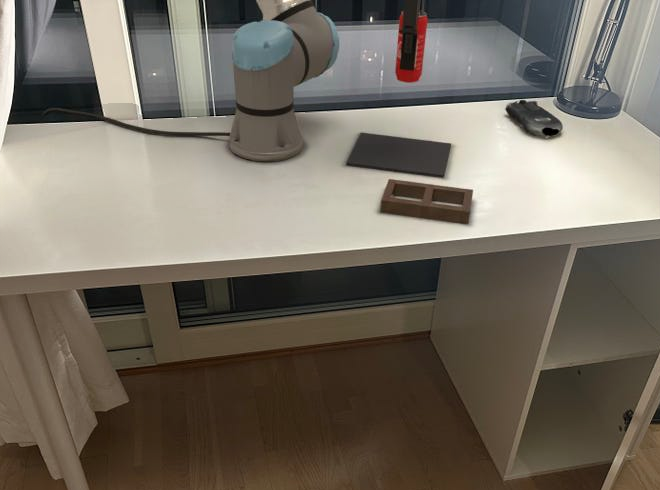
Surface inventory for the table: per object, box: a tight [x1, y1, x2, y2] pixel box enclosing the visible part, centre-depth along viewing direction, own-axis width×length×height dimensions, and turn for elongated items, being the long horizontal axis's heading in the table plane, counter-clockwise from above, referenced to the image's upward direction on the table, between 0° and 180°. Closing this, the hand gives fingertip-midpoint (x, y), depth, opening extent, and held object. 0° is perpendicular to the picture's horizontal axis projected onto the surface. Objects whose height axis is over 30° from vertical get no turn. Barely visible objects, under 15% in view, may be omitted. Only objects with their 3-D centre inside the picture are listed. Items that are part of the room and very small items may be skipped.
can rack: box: [379, 178, 474, 225], centre depth 130 cm, size 16×9×2 cm, turn 79°
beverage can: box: [394, 9, 429, 84], centre depth 134 cm, size 5×5×12 cm
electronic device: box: [504, 99, 564, 139], centre depth 162 cm, size 9×6×15 cm
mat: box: [345, 131, 452, 179], centre depth 148 cm, size 20×16×1 cm
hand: (408, 64), depth 136 cm, fingers closed on beverage can, 5 cm apart
